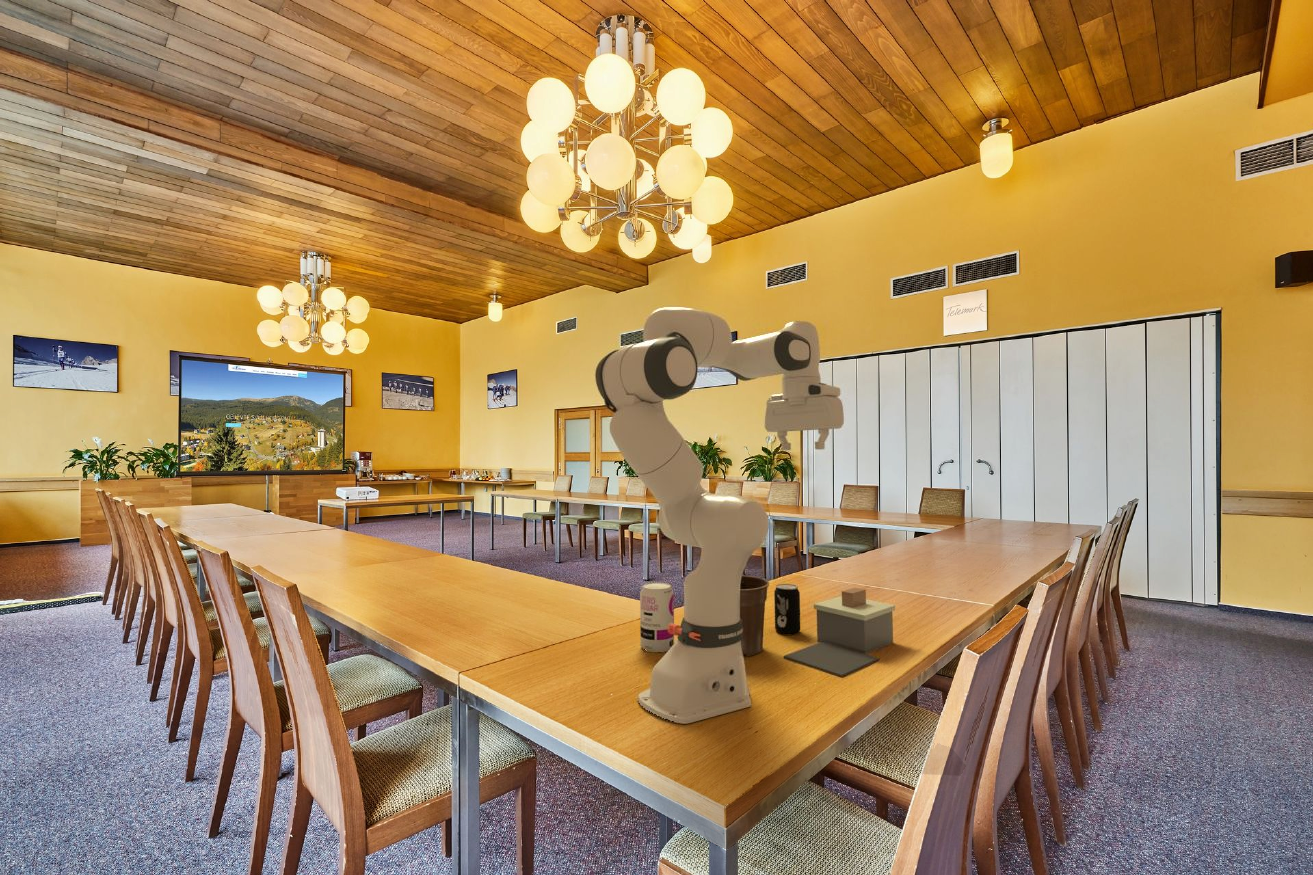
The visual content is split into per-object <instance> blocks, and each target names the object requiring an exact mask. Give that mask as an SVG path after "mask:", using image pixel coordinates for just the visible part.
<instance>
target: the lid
mask: <svg viewBox="0 0 1313 875" xmlns="http://www.w3.org/2000/svg"><path fill="white" fill-rule="evenodd" d="M866 591H867V590H866V589H864V588H858V587H852V588H849V589H846V590H845V589H844V590H842V591H841V595H840V596H837V597H834V598H829V599H826V600H822V601H820V602H816V603H813V609H814V610H816V611H817V610H821V611H825V612H830V613H834V614H838V615H842V616H847V617H851V618H855V619H859V620H863V621H866V620H869V619H872V618H875V617H877V616H880V615H883V614H886V613H889V612H891V611H892V612H893V611H896V605H895V604H891V603H887V602H886V603H885V602H880V601H877V600H876V601H875V600H871V599H867V594H866Z"/></svg>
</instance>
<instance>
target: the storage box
mask: <svg viewBox="0 0 1313 875" xmlns="http://www.w3.org/2000/svg"><path fill="white" fill-rule="evenodd" d="M893 624H894V621H893V611H891V612H889V613H886V614H883V615H880V616H877V617H875V618H872V619H869V620H866V621H863V620H859V619H855V618H851V617H847V616H842V615H838V614H834V613H830V612H825V611H821V610H817V609H816V636H817V637H816V638H817V639H816V641H817V642H818V643H820V642H824V643H828V644H831V645H835V646H838V647H842V648H845V649H849V650H852V651H856V652H859V653H863V654H866V655H869V654H871V653H872V652H874V651H877V650H879V649H882V648H884V647H886V645H887V646H889V645H891V644H893V643H894V625H893Z"/></svg>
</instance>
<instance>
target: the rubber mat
mask: <svg viewBox="0 0 1313 875" xmlns="http://www.w3.org/2000/svg"><path fill="white" fill-rule="evenodd" d="M783 659H786V660H789V661H792V662H794V663H797V664H800V665H804V666H807V667H809V668H812V669H816V670H819V671H822V672H825V673H828V674H830V675H834V676H837V677H840V678H843V677H846V676H848V675H850V674H852V673H854V672H855V673H856V672H857V671H858V670H860V669H862V668H866V667H868V666H870V665H872V664H874V663H876V662H878V661H880V658H879V657H878V656H877V657H876V656H872V655H870V654H863V653H859V652H856V651H852V650H849V649H845V648H842V647H838V646H835V645H831V644H828V643H824V642H818V643H815V644H812V645H808V646H805V647H804V648H802V649H798V650H795V651H793V652H791V653H788V654H785V655H783Z"/></svg>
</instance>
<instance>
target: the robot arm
mask: <svg viewBox="0 0 1313 875" xmlns="http://www.w3.org/2000/svg"><path fill="white" fill-rule="evenodd" d="M643 326H644V327H643V329H642V330H643V331H642V338H643V341H642V342H637V343H634V344H631V345H628V346H625V347H623V348H621V349H615V350H613V351H611V352H610V353H608V354H606V355H604V357H603V358H602V359H600V361H599V362H598V364H597V366H596V368H595V374H594V376H595V383H596V384H595V385H596V387H597V390H598V393H599V395H600V397H602V399H603V401H604V405H605V408H607V409H608V410H609V411H611V412H612V413H614V414H613V415H612V417H611V419H610V422H609V433H610V435H611V437H612V440H613V442H614V443H615V446H616V448H617V449H618V451H619V452H620V454H621V456H622V457H623V459H624V460H625V462H626V463H627V464H628V466H629V467H630V468H631V469H632V470H633V472H634V473H635V475H637V476H638V478H639V479H640V481H641V482H642V483H643V484H644V485H645V487H646V488H647V489H648V491H649V492H650V493H651V494H652V495H653V497H654V499H655V500H656V502H657V503H658V507H659V511H658V525H659V526H658V527H659V529H660V531H661V532H662V534H663V535H664V536H665V537H667V538H668V539H670V540H672V541H674V542H676V543H678V544H681V545H683V546H689V547H694V548H700V549H701V552H700V553H701V554H700V558H699V562H698V564H697V567H696V568H694V569H693V570H692V571H690V572H689V573H688V574H687V575H686V577H685V579H684V582H683V613H684V614H683V618H682V620H681V623H680V625H679V624H676V623H674V624H673V623H671V624H669V626H668V630H669V631H668V632H669V633H670V634H674V636H676V637H677V639H676V641H674V645H673V646H672V647H671V648H670V649H669V651H666V653H665V654H664V655H663V656H662V657H661V658H660V659H659V661H658V662H657V663H656V664H655V665H654V667H653V668H652V672H651V674H650V675H651V676H650V686H649V688H648V689H645V690H644V691H641V692H640V693H639V694H638V696H637V701H639V702H638V703H640V704H639V705H640V706H641V707H642V706H643V707H642V708H643V709H644V708H645V710H646V711H647V710H648V711H647V712H649V711H650V712H649V713H651V712H652V713H653V714H652V713H651V714H652V715H654V714H656V715H657V717H658V716H660V717H662V718H661V719H663V718H664V719H663V720H665V719H668V720H670V721H669V722H672V721H674V722H673V723H677V724H683V725H685V724H686V725H687V724H691V723H694V722H695V723H696V722H699V721H701V720H706V719H710V718H714V717H717V716H720V715H724V714H727V713H728V714H729V713H731V712H736V711H738V710H742V709H743V710H744V709H745V708H746V709H747V708H749V707H751V706H752V700H751V696H750V694H751V692H750V688H749V685H748V681H747V680H748V679H747V674H746V666H745V658H744V654H743V653H742V648H741V639H742V638H743V627H742V619H741V618H740V584H741V577H742V576H743V572H744V570H745V568H746V565H747V562H748V560H749V558H750V557H751V555H753V554H754V552H756V551H757V550H758V549H760V548H761V546H762V545H763V543H765V541H766V539H767V536H768V533H769V528H770V526H769V523H770V522H769V517H768V514H767V512H766V510H765V508H764V507H763V505H762V504H761V503H760V502H758V501H756V500H753V499H750V498H748V497H745V496H741V495H737V494H721V493H720V494H719V493H711V492H710V491H708V490H706V489H705V488H704V487H703V486H702V485H701V482H702V478H703V474H704V467H703V463H702V461H701V460H700V459H699V457H698V456H697V454H696V453H695V451H694V450H693V449H692V448H691V447H690V445H689V444H688V442H687V441H686V440H685V438H684V437H683V435H682V434H681V433H680V432H679V430H678V429H677V428H676V427H675V426H674V424H673V423H672V422H671V421H670V420H669V418H668V416H667V414H666V411H665V408H664V402H663V401H666V400H668V401H669V400H670V401H671V400H675V399H678V398H680V397H682V396H684V395H687V394H688V393H689V392H690V391H691V390H692V389H693V388H694V387H695V383H696V382H697V378H698V368H715V369H717V370H719V369H720V370H723V371H726V372H727V373H729V374H731V375H732V376H733V377H735V378H736V379H737V380H739V381H745V382H747V381H751V380H756V379H759V378H766V377H771V376H772V377H773V376H778V375H782V377H781V382H782V384H781V385H782V386H781V388H782V389H781V390H782V393H780V394H772V395H770V397H768V399H767V400H766V408H765V416H764V429H765V430H766V432H768V433H777V434H776V435H777V438H778V440H779V442H780V443H781V450H782V451H791V450H792V443H791V442H789V441H788V439H787V436H788V432H801V431H817V430H818V431H817V432H818V433H817V434H818V435H819V437H818V440H817V441H814V450H825V448H826V447H825V444H826V443H825V442H826V441H827V439H828V437H829V435H830V430H839V429H841V428H843V425H844V422H845V418H844V417H845V416H844V405H843V402H842V400H841V399H840V398H839V397H840V396H841V391H842V390H841V388H840V387H838V386H835V385H834V386H833V385H829V384H827V383H823V382H822V381H821V374H820V370H819V366H820V362H821V352H820V351H821V350H820V349H821V347H820V340H819V334H818V330H817V327H816V326H815V324H813V323H810V322H808V321H800V320H794V321H791V322H788V323H786V324H785V325H784V327H783V328H781V329H780V330H777V331H775V332H771V333H766V334H762V335H758V336H753V337H750V338H749V337H748V338H741V339H737V340H735V341H733V337H732V331H731V328H730V325H729V324H728V323H727V321H726V320H725V319H724V318H722V317H721V316H719V315H717V314H714V313H712V312H709V311H705V310H700V309H695V308H688V307H662V308H658V309H656V310H654V311H653V312H652V313H651V314H650V315H649V316H648V317H647V319H646V320H645V323H644V325H643ZM656 715H655V716H656ZM660 717H659V718H660ZM668 720H667V721H668Z"/></svg>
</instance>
